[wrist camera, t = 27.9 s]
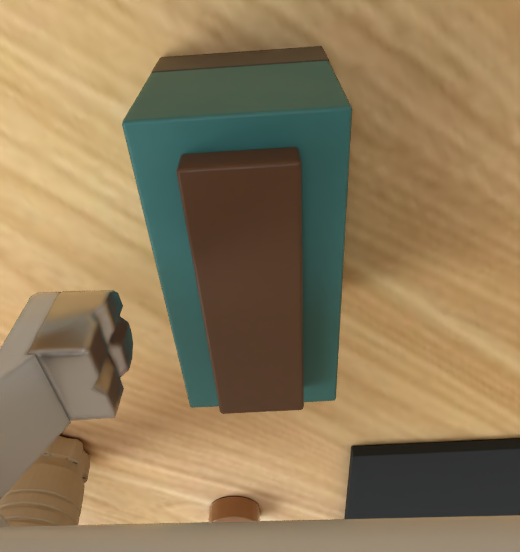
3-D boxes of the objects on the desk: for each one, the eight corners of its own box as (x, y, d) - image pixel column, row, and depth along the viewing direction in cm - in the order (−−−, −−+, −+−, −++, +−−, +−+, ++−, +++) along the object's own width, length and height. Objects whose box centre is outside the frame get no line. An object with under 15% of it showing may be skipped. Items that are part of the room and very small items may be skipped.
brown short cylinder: (258, 495, 28) (259, 516, 27) (260, 520, 30) (260, 540, 29) (207, 496, 28) (205, 517, 27) (211, 521, 30) (210, 541, 29)
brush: (322, 45, 13) (360, 121, 9) (318, 296, 19) (339, 424, 14) (159, 57, 13) (110, 137, 9) (203, 302, 19) (187, 431, 14)
